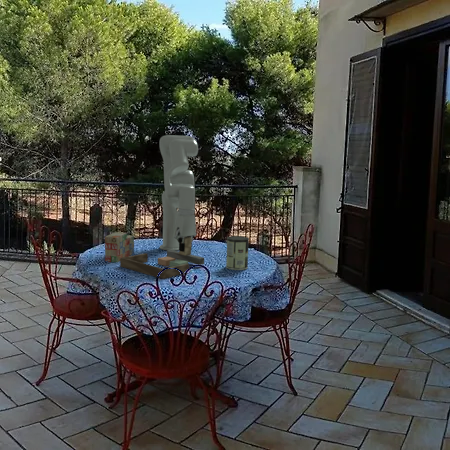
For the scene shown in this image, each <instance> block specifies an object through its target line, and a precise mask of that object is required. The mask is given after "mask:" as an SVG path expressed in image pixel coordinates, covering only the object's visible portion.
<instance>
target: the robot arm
mask: <svg viewBox="0 0 450 450" xmlns="http://www.w3.org/2000/svg"><path fill="white" fill-rule="evenodd" d="M159 150H160V151H159V152H160V154H161V157H162V160H163V181H164V182H163V183H164V185H163V186H164V191H163V192H162V194H161V203H162V214H163V215H162V216H163V217H162V244H161V245H159V249H160V250H162V251H163V250H164V251H168V250H174V251H178V252H179V251H182V252H184V251H185V243H184V239H185V237H190V238H192V241H191V251H192V250H193V248H192V246H193V241H194V238H195V237H196V236H197V235H198V234H197V226H196V225H197V224H196V222H197V221H196V215H195V213H196V209H195V203H196V196H195V195H196V188H195V176H194V173H193V171H192V170H190V169H189V166H190V165H189V159H188V157H197V155H198V153H199V146H198V142H197V141H196V139H194V137H192V136H191V135H190V136H189V135H177V134H176V135H173V134H167V135H162V136H161V137H160V138H159ZM177 209H178V210H177ZM181 238H182V239H181Z"/></svg>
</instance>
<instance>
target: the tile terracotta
mask: <svg viewBox="0 0 450 450" xmlns="http://www.w3.org/2000/svg"><path fill="white" fill-rule="evenodd" d="M174 260H177V259H175V258H171V257H167V256H164V257H158V258H157V264H158V265H160V266H164V267H170V266H169V265H170V261H174Z"/></svg>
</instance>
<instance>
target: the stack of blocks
mask: <svg viewBox="0 0 450 450" xmlns="http://www.w3.org/2000/svg"><path fill="white" fill-rule="evenodd" d="M104 254H105V255H104V262H105V261H108V262H107V263H116V262H117V263H120V258H123V257H128V256H133V254H135V236H134V235H128V232H119V231H118V232H117V231H115V232H112V233H111V234H108V235H106V236H104Z"/></svg>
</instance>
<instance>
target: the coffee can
mask: <svg viewBox="0 0 450 450" xmlns="http://www.w3.org/2000/svg"><path fill="white" fill-rule="evenodd" d="M249 241H250V238H249V237H248V236H242V235H231V236H227V237H226V260H225V261H226V263H225V267H226V269H227V270H232V271H233V270H234V271H242V270H243V271H244V270H247V269H248V268H249V263H248V262H249V244H250V242H249Z"/></svg>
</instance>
